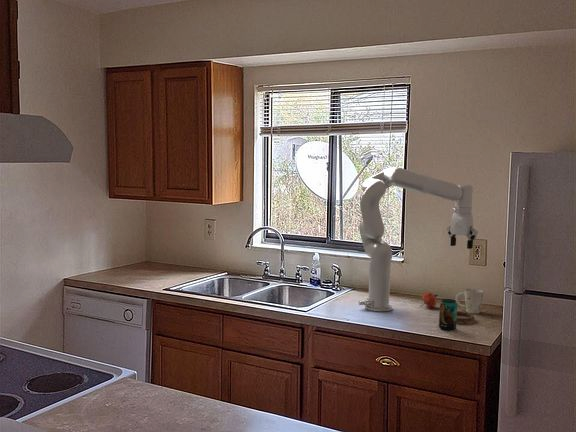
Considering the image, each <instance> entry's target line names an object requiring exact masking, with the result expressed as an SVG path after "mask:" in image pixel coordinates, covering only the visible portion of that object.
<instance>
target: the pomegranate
mask: <svg viewBox="0 0 576 432" xmlns="http://www.w3.org/2000/svg"><path fill="white" fill-rule="evenodd" d="M438 296H439V295H438V294H433V293H432V292H424V293H423V295H422V296H421V300H422V301H423V302H424V303H423V304H421V305H420V306H419V307H420V308H422V307H423V306H425V305H426V306H427V307H428V308H429V309H433V308H434V307H436V305H437V302H438V299H437V297H438Z"/></svg>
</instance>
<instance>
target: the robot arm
mask: <svg viewBox="0 0 576 432" xmlns="http://www.w3.org/2000/svg"><path fill="white" fill-rule="evenodd" d="M393 186H395V187H398V188H401V189H404V190H409V191H412V192H414V193H419V194H424V195H428V196H435V197H438V198H441V199H443V200H447V201H451V202H455V204H454V207H453V211H454V212H453V214H452V217H451V222H450V225H449V226H447V227H446V230H447V234H448V235H449V238H450V244H449V245H450V247H455V246H456V245H457V236H464V237H465V236H466V238H467V241H466V248H467V250H470V249H473V248H474V247H473V246H474V241H475V239H476V238H477V236H478V234H479V231H478V230H477V229H475V228H474V217H473V214H472V207H473V193H474V191H473V189H474V188H473V185H471V184H465V183H464V184H455V183H452V182H448V181H446V180H441V179H438V178H435V177H431V176H428V175H427V174H426V175H425V174H421V173H418V172H415V171H412V170H409V169H404V168H402V167H395V166H394V167H393V166H391V167H388V168H386V169H384V170H382V171H381V172H378V173H376V174H374V175H372V176H370V177H369V178H367V179H366V180H365V181H363V183H362V187H361V189H362V195H361V198H360V202H359V208H360V214H361V217H362V218H361V220H360V222H359V224H358V225H359V226H358V229H359V235H360V239H361V242H362V247H363V249H364V253H365V254H366V255H367V256H368V257H369V258H370V262H369V269H368V270H369V271H368V297H366V298H365V300H359V301H358V305H359V306H364V308H365V309H366V310H368V311H372V312H389V311H392V310H393V305H391V304H390V289H391V287H390V285H391V282H390V281H391V280H390V279H391V265H392V258H393V249H392V247H391V246H390V244H389V243H388V242H386V241H384V240H383V239H382V237H383V236H384V234H385V226H384V222H383V218H382V213H381V210H380V202H381V199H382V198H383V197H384V195H385V194H386V192H387V189H389V188H391V187H393Z"/></svg>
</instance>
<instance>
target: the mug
mask: <svg viewBox="0 0 576 432" xmlns="http://www.w3.org/2000/svg"><path fill="white" fill-rule="evenodd" d="M460 296H464V302H465V304H462V303H461V302H460V301H459V299H460ZM483 298H484V290H482V289H479V288H465V289H464V292H463V291H462V292H458V293H457V294H456V295H455V300H456V304H457V306H460V307H461V308H465V312H467V313H471V314H473V315H474V314H480V313H481V309H482V302H483Z"/></svg>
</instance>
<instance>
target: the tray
mask: <svg viewBox="0 0 576 432" xmlns="http://www.w3.org/2000/svg"><path fill="white" fill-rule="evenodd" d="M475 322H476V319H475V315H474V313H468V312H466V311H459V310H457V324H456V325H472V324H475Z"/></svg>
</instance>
